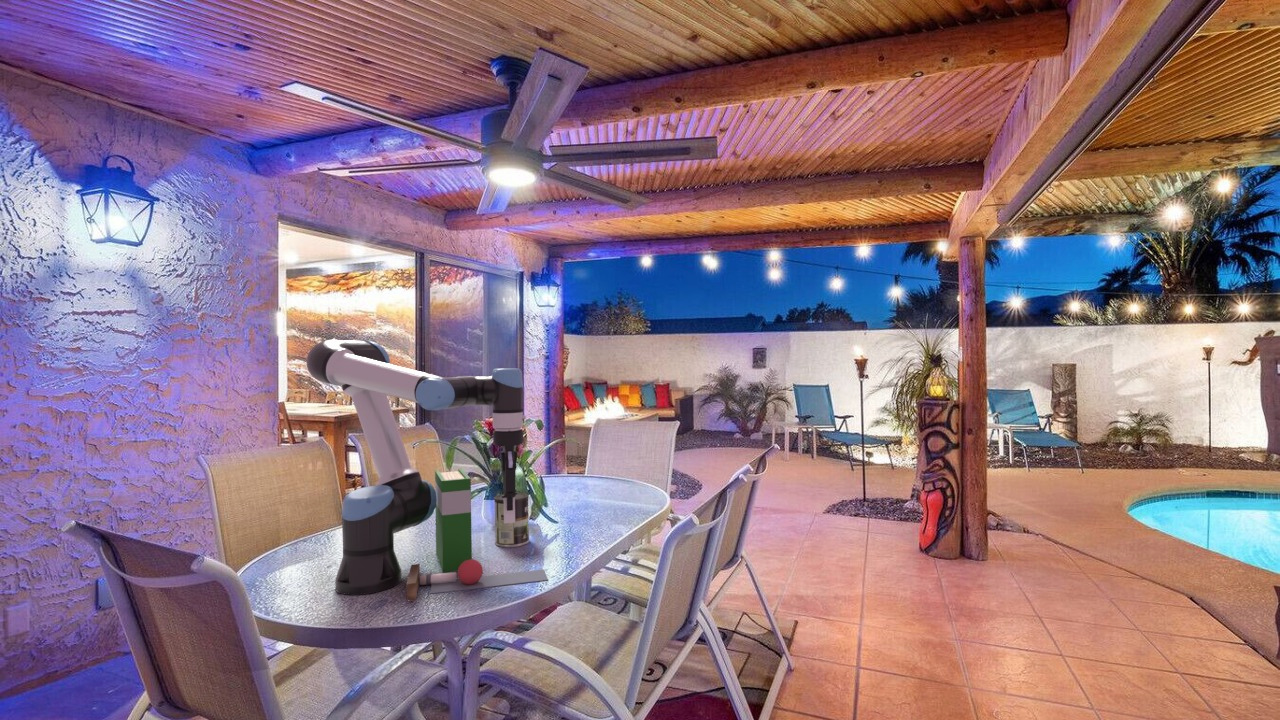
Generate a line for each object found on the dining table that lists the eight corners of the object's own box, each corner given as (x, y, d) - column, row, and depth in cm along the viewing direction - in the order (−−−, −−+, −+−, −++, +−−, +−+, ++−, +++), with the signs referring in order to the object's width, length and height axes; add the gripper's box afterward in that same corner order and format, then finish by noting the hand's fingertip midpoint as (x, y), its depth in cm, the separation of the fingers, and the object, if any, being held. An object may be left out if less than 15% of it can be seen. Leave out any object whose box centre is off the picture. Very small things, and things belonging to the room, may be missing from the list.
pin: (456, 571, 152) (420, 574, 151) (455, 581, 151) (419, 584, 149) (456, 572, 155) (421, 575, 153) (456, 582, 154) (420, 586, 152)
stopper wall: (406, 601, 141) (406, 584, 141) (411, 580, 154) (411, 564, 154) (416, 600, 141) (415, 583, 141) (419, 579, 155) (419, 563, 155)
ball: (472, 558, 149) (488, 575, 150) (471, 551, 154) (487, 568, 156) (452, 575, 147) (469, 593, 148) (452, 568, 153) (468, 585, 154)
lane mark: (430, 594, 145) (430, 593, 145) (431, 582, 153) (431, 581, 153) (548, 580, 153) (548, 579, 153) (543, 570, 161) (543, 569, 161)
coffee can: (528, 536, 192) (527, 491, 192) (530, 545, 182) (529, 498, 182) (494, 539, 190) (493, 493, 190) (494, 548, 180) (494, 501, 180)
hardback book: (436, 553, 176) (435, 470, 176) (462, 549, 179) (461, 468, 179) (443, 572, 160) (441, 481, 160) (471, 568, 163) (470, 478, 163)
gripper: (525, 431, 149) (527, 527, 149) (520, 425, 162) (522, 514, 162) (494, 432, 147) (495, 530, 147) (491, 427, 160) (493, 517, 160)
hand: (509, 522), depth 154 cm, fingers closed
